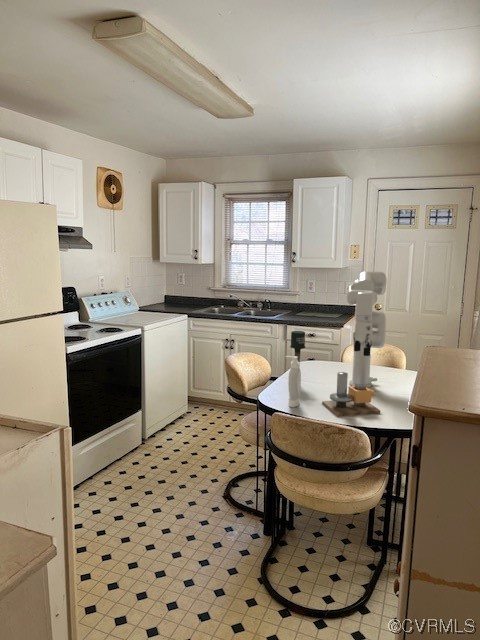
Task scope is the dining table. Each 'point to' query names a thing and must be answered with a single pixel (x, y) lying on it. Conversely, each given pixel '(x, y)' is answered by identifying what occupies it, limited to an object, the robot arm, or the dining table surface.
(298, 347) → the potato masher grenade
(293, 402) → the soap bottle
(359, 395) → the orange open box
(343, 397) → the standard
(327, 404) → the base plate
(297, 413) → the dining table surface
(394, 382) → the dining table surface
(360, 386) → the dark gray block
